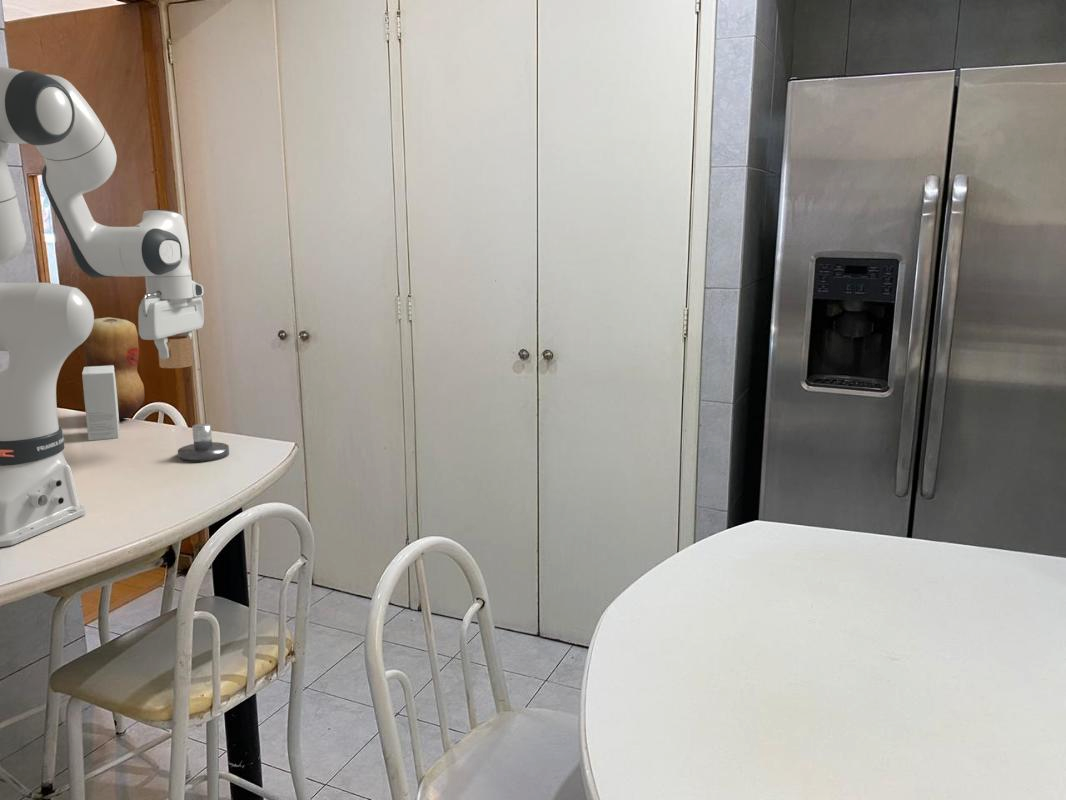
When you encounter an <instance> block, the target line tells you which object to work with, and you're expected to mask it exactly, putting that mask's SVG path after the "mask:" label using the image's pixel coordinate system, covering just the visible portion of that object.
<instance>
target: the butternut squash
mask: <svg viewBox="0 0 1066 800" xmlns="http://www.w3.org/2000/svg"><path fill="white" fill-rule="evenodd" d="M82 344H83V349H82V350H83V356H84V361H85V367H92V366H109V365H114V372H115V380H116V390H117V401H118V413H119V421H120V420H125V419H128V418H129V417H130V416H131V415H133V414H134V413H135V412H136V411H137V410H138V409H139V408H140V407H141V406H142V405H143V403H144V401H145V386H144V383H143V381H142V379H141V377H140V374H139V373H138V363H139V356H140V348H139V332H138V330H137V326H136V325H135V323H133V322H131V321H129V320H128V319H124V318H123V319H122V318H117V317H115V318H114V317H107V316H106V317H102V318H101V317H100V318H98V317H97V318H94V324H93V328H92V331H91V333H90V335H89V336H88V338H87V339H86V340H85V341H84V342H83V343H82ZM82 400H83V405H84V407H85V400H84V390H83V389H82Z"/></svg>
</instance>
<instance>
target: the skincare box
mask: <svg viewBox="0 0 1066 800" xmlns="http://www.w3.org/2000/svg"><path fill="white" fill-rule="evenodd" d="M81 376H82V377H81V378H82V385H83V386H82V388H83V389H82V391H83V390H84V400H85V406H84V407H85V418H86V419H85V420H86V428H87V439H88V441H89V442H91V441H93V442H94V441H101V440H104V441H105V440H113V439H112V438H115V439H119V438H120V420H119V413H118V401H117V390H116V380H115V372H114V365H109V366H92V367H86V366H84V367H83V370H82V372H81Z"/></svg>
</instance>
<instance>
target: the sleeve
mask: <svg viewBox="0 0 1066 800" xmlns="http://www.w3.org/2000/svg"><path fill="white" fill-rule="evenodd" d="M167 339H168V342H166V344H167V346H168V349H169V350H171V358H168V359H160V357H159V356H158V362H159V363H158V364H159V368H162V369H181V368H188V367H192V366H193V365H194V364H193V352H192V341H191V340H192V338H190V336H180V335H173V336H169V337H167ZM157 350H158V349H157ZM157 354H159V350H158V353H157Z"/></svg>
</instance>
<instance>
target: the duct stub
mask: <svg viewBox="0 0 1066 800" xmlns="http://www.w3.org/2000/svg"><path fill="white" fill-rule="evenodd" d="M191 427H192V428H191V429H192V439H193V443H191V444H188V445H183V446H182V447H180V448H178V449H177V457H178V458H177V459H178V460H179V461H181V462H185V463H208V462H214V461H219V460H222V459H224V458H226V457H228V456H229V454H230V446H229V444H226V443H223V442H219V441H218V442H217V441H214V442H213V437H212V424H210V423H196V424H194V425H192V426H191Z"/></svg>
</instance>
